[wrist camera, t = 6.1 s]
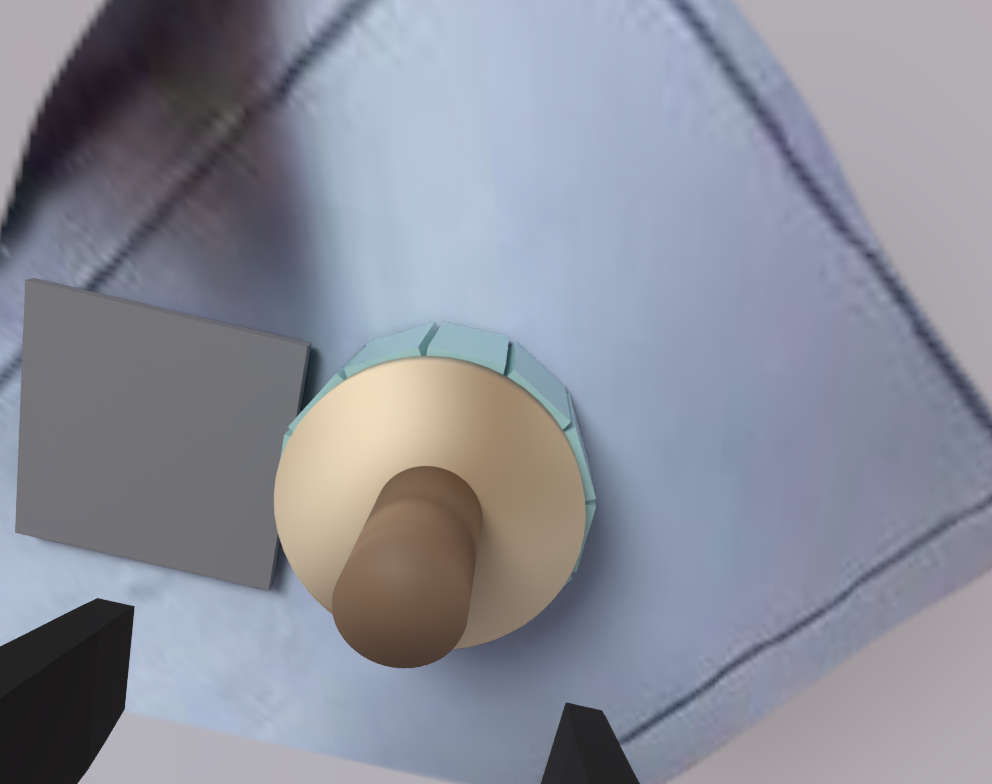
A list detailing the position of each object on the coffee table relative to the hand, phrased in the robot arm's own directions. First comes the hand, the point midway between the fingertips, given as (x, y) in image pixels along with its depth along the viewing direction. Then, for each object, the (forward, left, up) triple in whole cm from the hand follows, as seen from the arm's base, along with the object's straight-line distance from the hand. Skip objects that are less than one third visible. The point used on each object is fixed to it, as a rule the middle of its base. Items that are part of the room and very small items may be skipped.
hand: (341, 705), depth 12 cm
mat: (-8, -1, -10) cm, 13 cm away
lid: (+1, +1, -7) cm, 7 cm away
